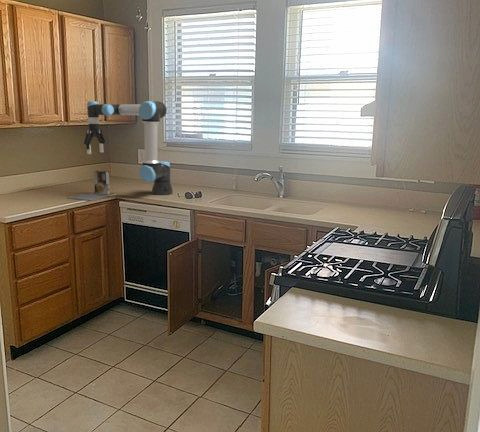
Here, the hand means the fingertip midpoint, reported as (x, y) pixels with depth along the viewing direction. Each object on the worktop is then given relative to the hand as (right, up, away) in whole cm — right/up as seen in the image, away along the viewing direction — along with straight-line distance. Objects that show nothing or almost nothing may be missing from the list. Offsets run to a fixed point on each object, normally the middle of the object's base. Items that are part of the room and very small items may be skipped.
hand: (95, 153), depth 344 cm
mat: (+1, -33, -20) cm, 38 cm away
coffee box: (+7, -30, -6) cm, 31 cm away
